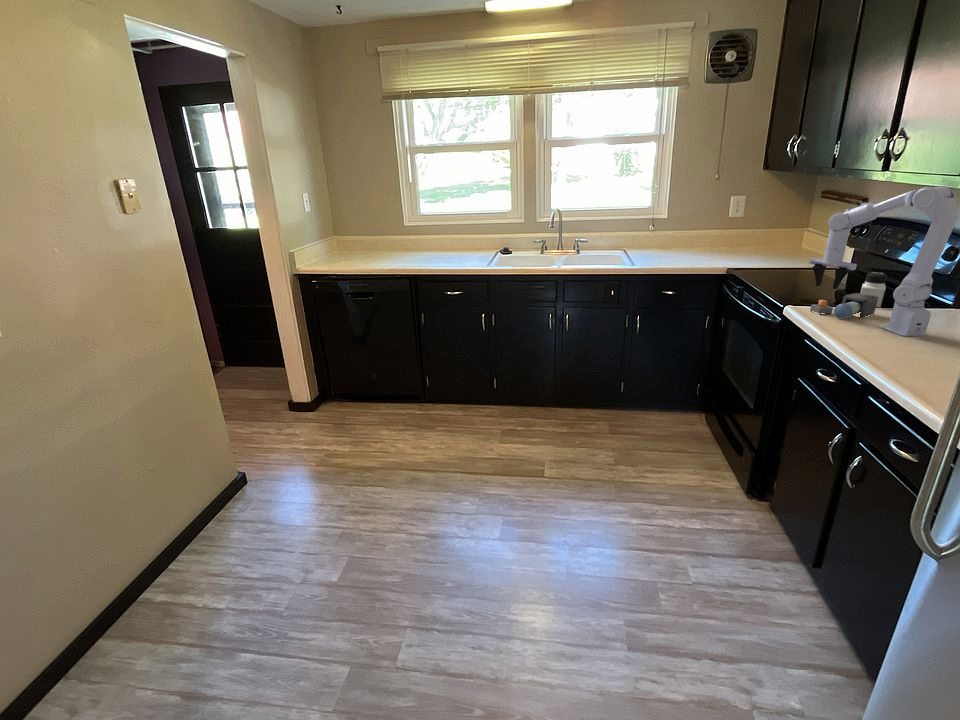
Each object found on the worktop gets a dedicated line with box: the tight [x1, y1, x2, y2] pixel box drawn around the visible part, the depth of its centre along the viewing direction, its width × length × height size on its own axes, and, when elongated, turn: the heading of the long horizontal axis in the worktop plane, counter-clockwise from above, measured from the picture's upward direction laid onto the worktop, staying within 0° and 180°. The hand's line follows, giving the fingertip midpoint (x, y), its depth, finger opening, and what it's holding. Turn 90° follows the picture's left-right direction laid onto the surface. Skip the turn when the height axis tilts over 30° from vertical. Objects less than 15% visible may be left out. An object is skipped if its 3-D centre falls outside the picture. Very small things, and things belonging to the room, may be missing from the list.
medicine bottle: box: [859, 272, 888, 309], centre depth 192 cm, size 7×7×12 cm
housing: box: [841, 292, 879, 318], centre depth 182 cm, size 9×7×6 cm
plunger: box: [818, 299, 828, 307], centre depth 184 cm, size 3×3×3 cm
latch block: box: [809, 304, 834, 314], centre depth 185 cm, size 5×5×2 cm
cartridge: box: [833, 301, 863, 319], centre depth 180 cm, size 15×5×5 cm, turn 122°
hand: (826, 287), depth 182 cm, fingers open, 5 cm apart
